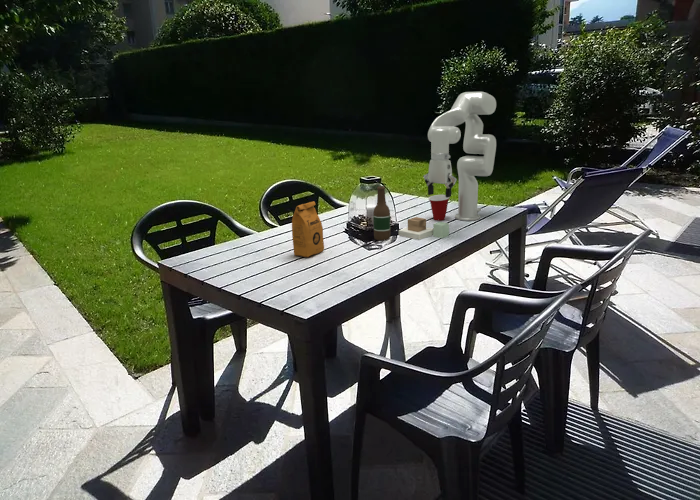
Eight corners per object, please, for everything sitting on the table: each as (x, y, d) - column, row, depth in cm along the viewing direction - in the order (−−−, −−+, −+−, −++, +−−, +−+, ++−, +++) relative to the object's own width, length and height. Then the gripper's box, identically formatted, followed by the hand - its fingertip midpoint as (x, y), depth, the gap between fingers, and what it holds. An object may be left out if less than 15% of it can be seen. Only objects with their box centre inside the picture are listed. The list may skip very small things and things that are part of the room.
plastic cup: (424, 218, 264) (424, 196, 260) (441, 215, 268) (441, 193, 264) (435, 223, 254) (436, 199, 251) (453, 220, 259) (454, 197, 255)
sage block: (439, 234, 236) (440, 221, 234) (448, 236, 232) (449, 223, 230) (433, 236, 232) (433, 223, 231) (442, 238, 229) (442, 225, 227)
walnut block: (415, 227, 239) (415, 216, 238) (426, 229, 235) (426, 218, 234) (407, 230, 235) (407, 219, 234) (418, 232, 231) (417, 221, 230)
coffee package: (328, 252, 217) (325, 201, 210) (307, 259, 208) (303, 207, 202) (311, 248, 223) (308, 199, 217) (290, 255, 214) (286, 204, 208)
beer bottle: (384, 241, 228) (383, 188, 221) (370, 239, 232) (368, 187, 225) (394, 237, 234) (393, 185, 226) (380, 235, 238) (378, 184, 231)
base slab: (415, 230, 244) (415, 225, 243) (435, 234, 236) (435, 228, 235) (398, 235, 236) (398, 230, 235) (419, 240, 228) (419, 234, 227)
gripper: (461, 157, 218) (460, 196, 223) (429, 155, 230) (429, 192, 235) (451, 159, 213) (450, 199, 218) (418, 156, 225) (418, 194, 230)
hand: (439, 195), depth 226 cm, fingers open, 9 cm apart
